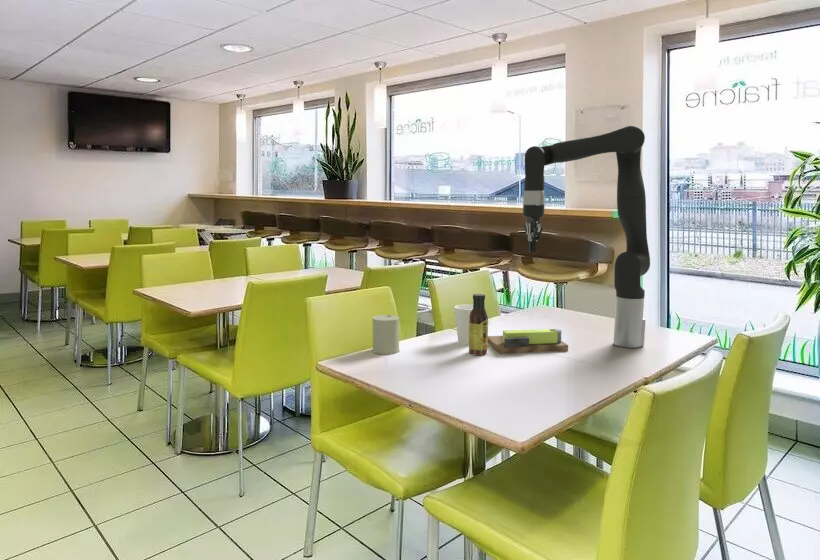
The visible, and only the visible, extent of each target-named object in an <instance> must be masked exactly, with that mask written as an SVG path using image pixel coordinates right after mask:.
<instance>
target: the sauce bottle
mask: <svg viewBox="0 0 820 560" xmlns="http://www.w3.org/2000/svg"><path fill="white" fill-rule="evenodd" d="M472 300H473V302H472V305H473V309H472V311H471V313H470V322H469V345H468V352H469V354H471V355H473V356H475V355H476V356H483V355H484V356H485V355H486V354H487V352H488V345H489V344H488V336H489V335H488V334H489V317H488V314H487V312H486V305H485V300H486V294H482V293H475V294H473V295H472Z"/></svg>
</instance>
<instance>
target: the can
mask: <svg viewBox="0 0 820 560" xmlns="http://www.w3.org/2000/svg"><path fill="white" fill-rule="evenodd" d="M371 319H372V321H371V322H372V350H371V351H372V353H374V354H378V355H394V354H398V353H400V317H399V316H398V315H393V314H378V315H375V316H373V317H371Z"/></svg>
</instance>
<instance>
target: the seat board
mask: <svg viewBox="0 0 820 560" xmlns="http://www.w3.org/2000/svg"><path fill="white" fill-rule="evenodd" d="M488 345H489V346H491V348H492V349H493V350H495V351H496V352H497V353H498V354H499V355H505V354H506V355H509V354H526V353H527V354H528V353H531V354H532V353H550V352H568V351H569V344H567V343H565V342H564V341H563V340H561V343H546V344H529V338H528V337H513V338H505V339H504V342H503V335H488Z"/></svg>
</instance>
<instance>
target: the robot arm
mask: <svg viewBox="0 0 820 560" xmlns="http://www.w3.org/2000/svg"><path fill="white" fill-rule="evenodd" d="M645 136H646V134H645V132H644V131H643V129H641V128H640V127H638V126H636V125H627V126H625V127H621V128H619V129H617V130H613V131H611V132H606V133H604V134H599V135H593V136H590V137H583V138H577V139H571V140H566V141H561V142H560V141H558V142H556V143H554V144H551V145H545V146H543V145H542V146H537V145H534V146H530V147H529V148H527V150H526V151H525V154H524V183H523V184H524V188H523V189H524V191H523V198H522V200H523V201H522V217H524V218H526V223H525V224H524V225H523V227H524V228H523V229H524V234H525V237H526V240H528V252H530V253H536V252H537V242H538V241H540V238H541V236H542V233H543V229H544V228H543V226H541V220H540V218H544V216H545V207H546V206H545V205H546V198H545V175H544V173H545V166H549V165H553V164H558V163H559V164H561V163H567V162H572V161H578V160H582V159H585V158H589V157H593V156H596V155H601V154H607V153H615V156H616V161H617V184H616V206H617V208H616V210H617V216H618V219H619V222H620V224H621V227H622V229H623V232H624V235H625V239H626V240H625V242H626V251H623V252H621V253H619V254H618V255H617V257H616V259H615V262H614V271H613V272H614V275H613V277H614V279H613V280H614V282H613V283H614V289H615V293H616V294H615V307H614V308H615V310H614V314H615V315H614V327H613V328H614V329H613V345H615V346H618V347H622V348H629V349H632V348H633V349H635V348H641V347H644V346H645V336H646V335H645V334H646V319H645V318H644V309H645V296H646V295H645V294H646V293H645V289H644V288H643V287H642V286H641V277H643V276H644V275H646V274H647V273H648V271H649V269H650V266H651V257H650V251H649V244H648V233H647V205H646V204H647V203H646V201H647V199H646V197H647V196H646V190H645V184H644V177H643V175H642V170H641V169H642V167H641V155H642V154H641V153H642V147H643V146H644V143H645V141H646V140H645V139H646V137H645Z"/></svg>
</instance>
